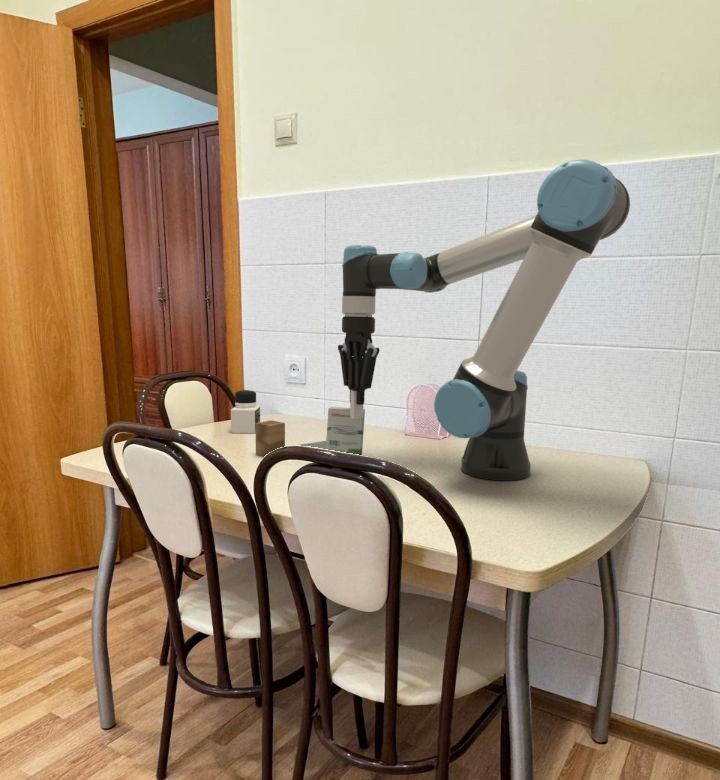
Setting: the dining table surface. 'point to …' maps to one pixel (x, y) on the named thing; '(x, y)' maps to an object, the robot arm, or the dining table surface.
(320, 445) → the mat
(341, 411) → the ink box
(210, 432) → the dining table surface
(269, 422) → the walnut block
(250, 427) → the medicine bottle
